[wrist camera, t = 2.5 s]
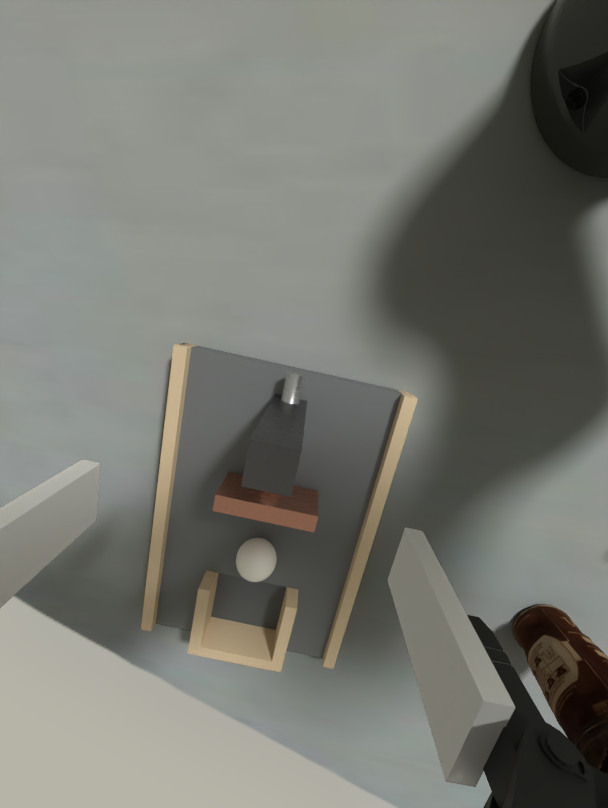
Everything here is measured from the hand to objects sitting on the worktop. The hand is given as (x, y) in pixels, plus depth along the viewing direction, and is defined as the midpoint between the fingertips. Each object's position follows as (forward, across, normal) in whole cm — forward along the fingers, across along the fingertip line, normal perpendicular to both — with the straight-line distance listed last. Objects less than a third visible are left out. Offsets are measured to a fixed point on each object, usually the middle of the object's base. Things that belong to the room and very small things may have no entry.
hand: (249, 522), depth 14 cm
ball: (+16, 0, -15) cm, 21 cm away
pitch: (+19, 0, -12) cm, 22 cm away
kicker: (+17, 0, -3) cm, 17 cm away
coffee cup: (+19, +33, -19) cm, 43 cm away
